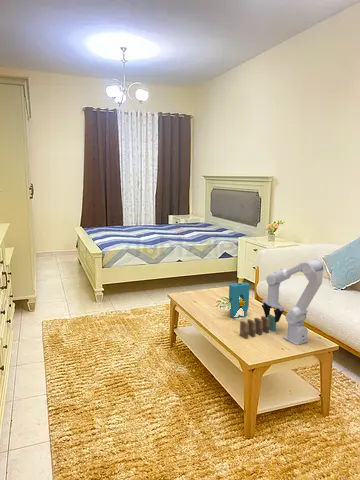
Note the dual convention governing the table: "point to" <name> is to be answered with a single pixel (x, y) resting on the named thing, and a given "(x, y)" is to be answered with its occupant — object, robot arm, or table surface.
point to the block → (234, 294)
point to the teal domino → (272, 323)
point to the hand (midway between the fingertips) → (272, 319)
